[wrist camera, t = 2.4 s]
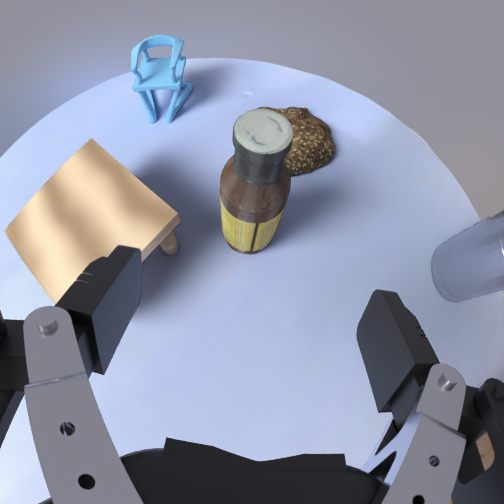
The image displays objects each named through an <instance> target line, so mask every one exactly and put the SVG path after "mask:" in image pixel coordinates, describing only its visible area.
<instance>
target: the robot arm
mask: <svg viewBox="0 0 504 504" xmlns="http://www.w3.org/2000/svg"><path fill="white" fill-rule="evenodd" d="M141 257H142V256H141V250H140V249H139V248H135V247H129V246H124V245H118V246H117V247H116V248H115V249H114V250H113V251H112V252H111V254H110V255H109V256H108V257H103V256H102V257H100V258H98V259H96V260H94V261H93V262H91V263H90V264H89V265H88V266H87V267H86V268H85V269H84V271H83V272H82V274H80V275H79V276H78V278H77V279H76V281H74V282H73V284H72V285H71V286H70V287H69V288H68V290H67V291H66V292H65V293H64V295H63V296H62V297H61V298H60V300H59V301H58V302H57V303H56V305H55V306H46V307H41V308H39V309H36V310H34V311H33V312H31V313H30V314H29V315H28V316H27V318H26V319H25V320H8V319H3V317H2V314H1V311H0V448H1V445H2V443H3V440H4V438H5V436H6V433H7V431H8V428H9V426H10V424H11V422H12V419H13V417H14V415H15V413H16V411H17V408H18V406H19V404H20V402H21V400H22V398H23V396H24V394H25V399H26V405H27V411H28V416H29V421H30V425H31V430H32V434H33V439H34V443H35V447H36V450H37V454H38V458H39V461H40V465H41V468H42V471H43V475H44V478H45V481H46V484H47V487H48V490H49V493H50V495H51V497H50V498H49V499H47V500H45V501H43V502H41V503H39V504H448V503H449V500H450V497H451V499H452V504H504V383H502V382H501V381H499V380H497V379H494V378H489V379H487V380H486V381H485V382H484V384H483V385H482V386H481V387H480V388H479V389H478V388H475V387H471V386H467V385H466V384H465V381H464V379H463V377H462V376H461V374H460V373H459V372H458V371H457V370H456V369H454V368H453V367H451V366H449V365H446V364H440V362H439V360H438V358H437V356H436V354H435V352H434V350H433V348H432V346H431V344H430V343H429V341H428V339H427V337H425V336H426V335H425V333H424V331H423V329H421V326H420V324H419V322H418V320H417V319H416V317H415V316H414V315H413V314H412V313H411V312H410V311H409V310H408V309H407V308H406V307H405V306H404V304H403V303H402V301H401V299H400V297H399V296H398V294H397V293H396V292H391V291H384V290H375V291H374V292H373V294H372V296H371V298H370V300H369V302H368V305H367V307H366V309H365V311H364V313H363V315H362V317H361V320H360V322H359V324H358V328H357V341H358V345H359V348H360V351H361V354H362V357H363V361H364V364H365V367H366V371H367V374H368V377H369V381H370V384H371V388H372V391H373V395H374V398H375V402H376V406H377V409H378V413H382V412H392V415H393V417H392V418H391V419H390V420H389V422H388V423H387V425H386V427H385V429H384V431H383V433H382V435H381V437H380V439H379V441H378V443H377V444H376V446H375V448H374V450H373V452H372V453H371V455H370V457H369V459H368V460H367V462H366V463H365V464H364V466H363V467H362V468H361V469H358V468H355V467H351V466H348V465H346V461H345V455H344V454H301V455H296V456H291V457H286V458H280V459H275V460H268V461H254V460H251V459H248V458H245V457H242V456H239V455H236V454H233V453H230V452H227V451H224V450H222V449H219V448H216V447H214V446H209V445H203V444H197V443H192V442H186V441H181V440H176V439H171V438H167V437H166V442H165V446H164V448H154V449H145V450H140V451H135V452H132V453H129V454H126V455H124V456H122V457H119V455H118V453H117V451H116V449H115V447H114V444H113V442H112V440H111V437H110V435H109V433H108V430H107V428H106V426H105V423H104V421H103V418H102V416H101V413H100V410H99V408H98V405H97V402H96V400H95V397H94V394H93V391H92V388H91V385H90V382H89V377H90V375H91V373H92V372H95V373H98V374H102V375H104V374H105V372H106V370H107V368H108V365H109V363H110V361H111V359H112V357H113V355H114V353H115V351H116V348H117V346H118V344H119V342H120V340H121V338H122V336H123V334H124V332H125V330H126V328H127V326H128V324H129V322H130V320H131V318H132V316H133V314H134V312H135V310H136V308H137V306H138V304H139V301H140V297H141V291H142V268H141ZM432 275H433V279H434V282H435V285H436V287H437V289H438V291H439V292H440V293H441V295H442V296H443V297H445V298H446V299H447V300H449V301H451V302H460V301H464V300H468V299H472V298H476V297H480V296H483V295H487V294H491V293H494V292H498V291H501V290H504V210H503V211H502V212H500V213H498V214H496V215H495V216H493V217H487V218H486V219H484V220H482V221H480V222H478V223H477V224H475V225H473V226H471V227H469V228H468V229H466V230H464V231H462V232H460V233H459V234H457V235H455V236H453V237H451V238H450V240H449V241H447V242H445V243H443V244H442V245H440V246H439V247H438V248H437V249H436V251H435V253H434V255H433V259H432ZM486 432H487V433H488V436H489V439H490V442H491V445H492V447H493V450H494V461H493V463H492V465H491V466H490V467H489V468H488V469H486V470H484V466H483V463H482V460H481V456H480V453H479V450H478V447H477V444H476V441H477V440H478V439H479V438H480V437H481V436H483V435H484V434H485V433H486Z"/></svg>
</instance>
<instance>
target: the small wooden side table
mask: <svg viewBox="0 0 504 504" xmlns="http://www.w3.org/2000/svg"><path fill="white" fill-rule="evenodd" d="M179 223H180V218H179V215H178V213H177V212H176V211H175V210H174V209H172V208H171V207H170V206H169V205H168V204H167V203H165V202H164V201H163V200H162V199H161V198H160V197H158V196H157V195H156V194H155V193H154V192H153V191H151V190H150V189H149V188H148V187H147V186H146V185H144V184H143V183H142V182H141V181H140V180H139V179H138V178H136V177H135V176H134V175H133V174H132V173H131V172H129V171H128V170H127V169H126V168H125V167H124V166H123V165H121V164H120V163H119V162H118V161H117V160H116V159H115V158H113V157H112V156H111V155H110V154H109V153H108V152H107V151H105V150H104V149H103V148H102V147H101V146H100V145H99V144H98V143H96V142H95V141H94V140H93V139H92V138H91V139H90V140H89V141H88V142H87V143H86V144H85V145H83V146H82V147H81V148H80V149H79V150H78V151H77V152H76V153H75V154H74V155H73V156H72V157H71V158H70V159H69V160H68V161H67V162H66V163H65V164H64V165H63V166H62V167H61V168H60V169H59V170H58V171H57V172H56V173H55V174H54V175H53V176H52V177H51V178H50V179H49V180H48V181H47V182H46V183H45V184H44V185H43V186H42V187H41V188H40V190H39V191H38V192H37V193H36V194H35V195H34V196H33V197H32V198H31V200H30V201H29V202H28V203H27V204H26V205H25V207H24V208H23V209H22V210H21V211H20V212H19V214H18V215H17V216H16V217H15V218H14V220H13V221H12V222H11V223H10V225H9V226H8V227H7V228H6V230H5V231H4V232H5V233H6V235H7V237H8V238H9V240H10V241H11V243H12V244H13V246H14V248H15V249H16V251H17V252H18V254H19V255H20V257H21V258H22V260H23V261H24V263H25V264H26V265H27V267H28V268H29V270H30V271H31V273H32V274H33V275H34V277H35V278H36V280H37V281H38V282H39V284H40V285H41V286H42V288H43V289H44V290H45V292H46V293H47V294H48V296H49V297H50V298H51V299H52V301H53V302H54V303H55V304H56V303H57V302H58V301H59V300H60V298H61V297H62V296H63V295H64V293H65V292H66V291H67V290H68V288H69V287H70V286H71V285H72V284H73V282H74V281H76V279H77V278H78V276H79V275H80V274H82V272H83V271H84V269H85V268H86V267H87V266H88V265H89V264H90V263H91V262H93V261H94V260H96V259H98V258H100V257H102V256H103V257H108V256H109V255H110V254H111V252H112V251H113V250H114V249H115V248H116V247H117V246H118V245H124V246H129V247H135V248H139V249H140V250H141V256H142V257H141V263H142V262H143V261H144V260H145V259H146V258H147V256H148V255H149V254H150V253H151V252H152V251H153V250H154V249H155V248H156V247H157V246H158V245H160V246H161V248H162V250H163V251H164V253H165V254H167V255H170V256H171V255H175V254H176V253H177V252H178V250H179V244H178V242H177V239H176V237H175V234H174V232H173V229H174V228H175V227H176V226H177V225H178V224H179Z"/></svg>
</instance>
